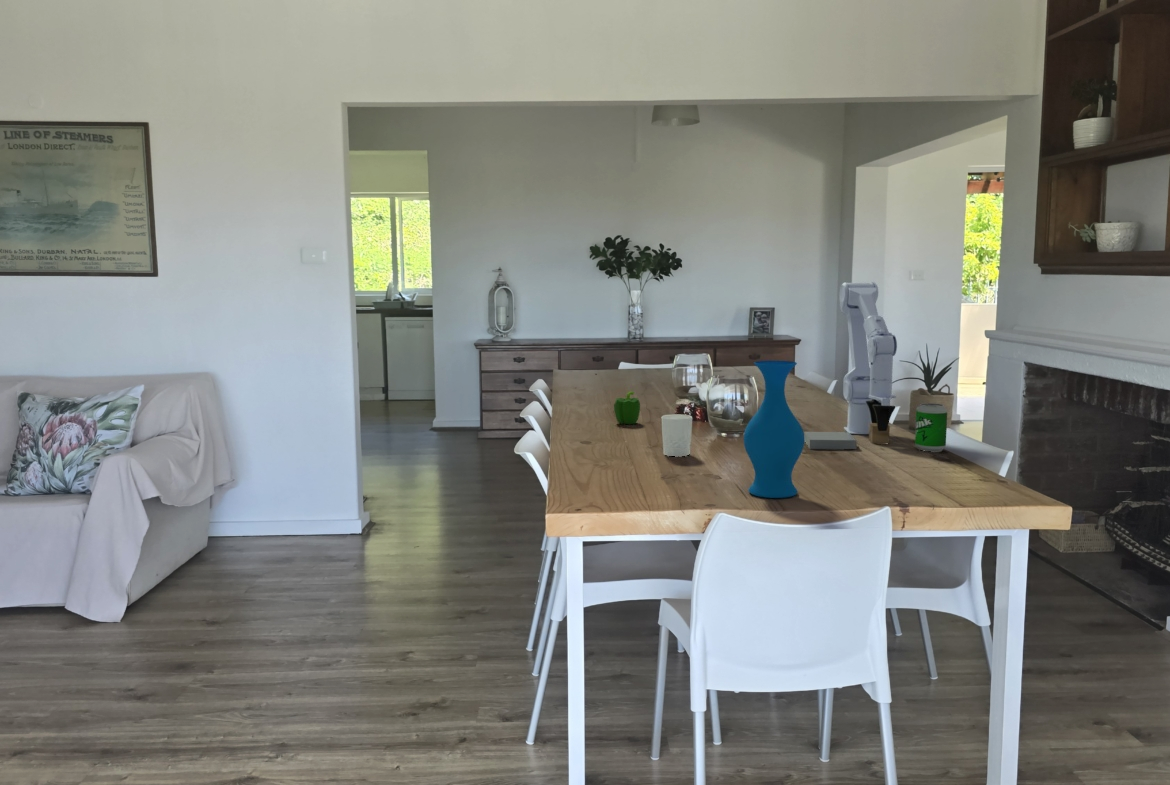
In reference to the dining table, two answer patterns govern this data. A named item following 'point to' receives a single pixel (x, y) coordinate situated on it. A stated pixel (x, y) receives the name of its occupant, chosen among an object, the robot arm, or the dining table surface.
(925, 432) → the soda can
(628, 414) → the bell pepper
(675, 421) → the white cup
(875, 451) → the dining table surface
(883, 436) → the walnut cube
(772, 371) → the vase
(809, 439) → the plinth
